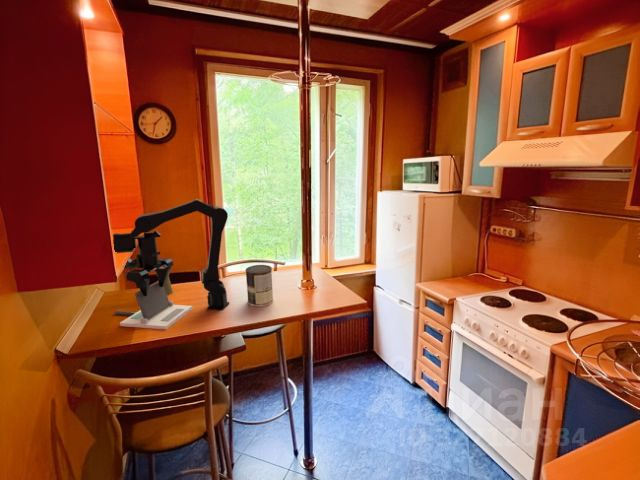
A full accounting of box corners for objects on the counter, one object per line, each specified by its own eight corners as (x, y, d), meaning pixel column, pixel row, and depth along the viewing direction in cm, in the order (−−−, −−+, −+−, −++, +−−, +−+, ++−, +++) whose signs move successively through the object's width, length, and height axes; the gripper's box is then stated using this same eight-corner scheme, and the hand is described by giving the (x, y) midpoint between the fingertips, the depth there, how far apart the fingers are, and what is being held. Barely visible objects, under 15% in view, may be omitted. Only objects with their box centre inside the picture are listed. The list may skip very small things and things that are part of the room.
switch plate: (192, 308, 134) (192, 301, 134) (166, 329, 118) (165, 321, 118) (131, 304, 139) (130, 298, 139) (98, 324, 123) (96, 316, 122)
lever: (171, 304, 134) (162, 279, 132) (147, 321, 121) (137, 292, 119) (168, 305, 135) (159, 279, 133) (143, 321, 121) (133, 293, 119)
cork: (167, 296, 148) (164, 271, 145) (154, 295, 149) (151, 271, 146) (175, 291, 153) (172, 267, 151) (163, 290, 155) (160, 266, 152)
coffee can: (243, 305, 136) (241, 271, 133) (253, 296, 146) (251, 264, 143) (268, 307, 134) (266, 273, 131) (276, 297, 144) (275, 265, 141)
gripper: (145, 243, 133) (150, 281, 136) (108, 256, 115) (115, 300, 118) (171, 244, 131) (176, 283, 134) (137, 257, 113) (144, 302, 116)
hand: (153, 291), depth 126 cm, fingers open, 9 cm apart
